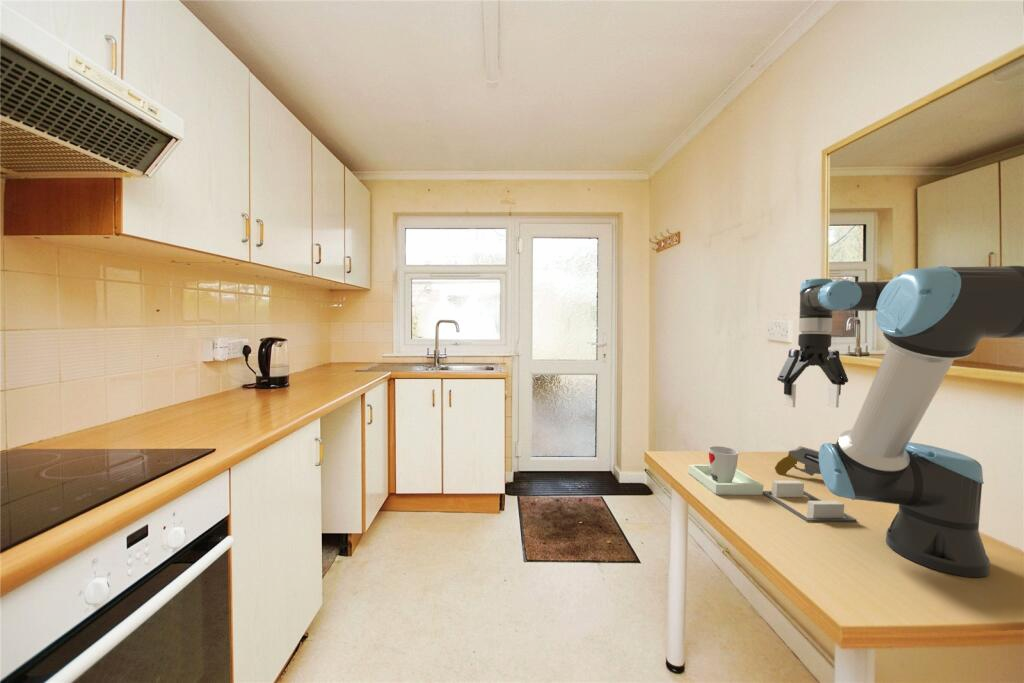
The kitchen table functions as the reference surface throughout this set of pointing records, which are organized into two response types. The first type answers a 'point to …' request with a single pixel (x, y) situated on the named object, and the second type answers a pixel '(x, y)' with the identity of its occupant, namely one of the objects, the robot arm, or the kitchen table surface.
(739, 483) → the tray
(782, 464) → the gun
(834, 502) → the holder
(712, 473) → the cup
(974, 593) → the kitchen table surface
